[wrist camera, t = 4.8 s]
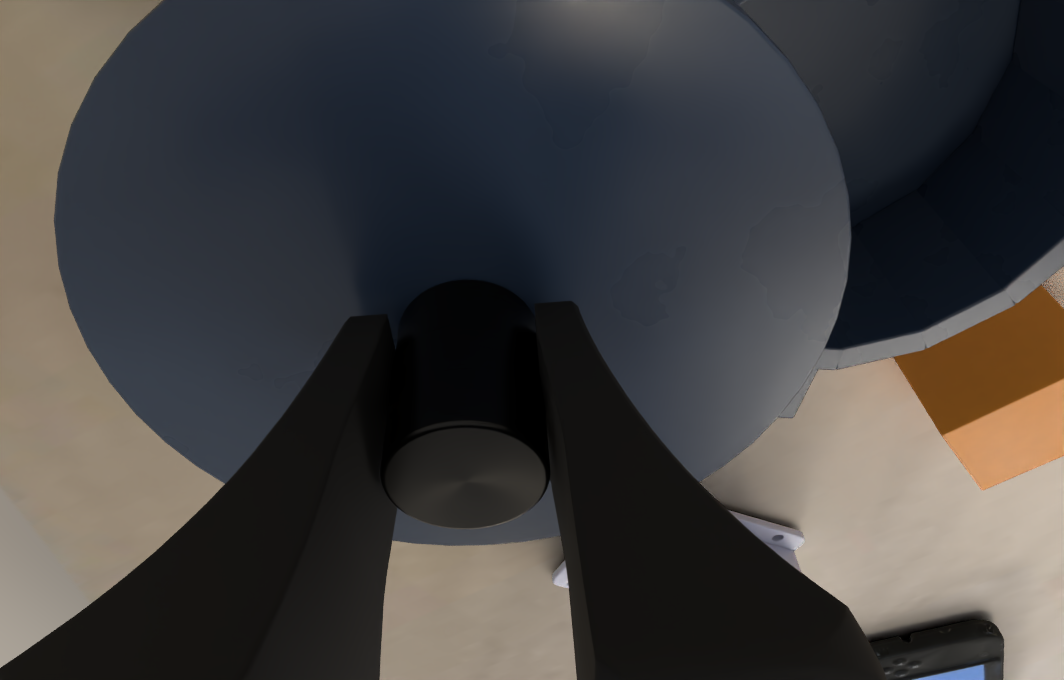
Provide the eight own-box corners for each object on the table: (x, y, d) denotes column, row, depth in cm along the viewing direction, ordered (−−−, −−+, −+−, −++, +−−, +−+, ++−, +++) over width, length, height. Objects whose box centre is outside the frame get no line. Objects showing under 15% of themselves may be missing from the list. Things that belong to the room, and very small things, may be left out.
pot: (1234, -311, 15) (1503, -310, 11) (879, 328, 27) (950, 442, 23) (673, -410, 14) (750, -450, 10) (549, 308, 25) (562, 426, 21)
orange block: (1055, 331, 27) (1138, 424, 24) (923, 396, 29) (982, 491, 26) (1023, 265, 25) (1109, 357, 22) (883, 340, 27) (941, 435, 24)
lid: (974, -47, 10) (1202, 76, 7) (710, 515, 19) (757, 688, 15) (-50, -184, 9) (-365, -106, 5) (167, 497, 17) (94, 686, 14)
